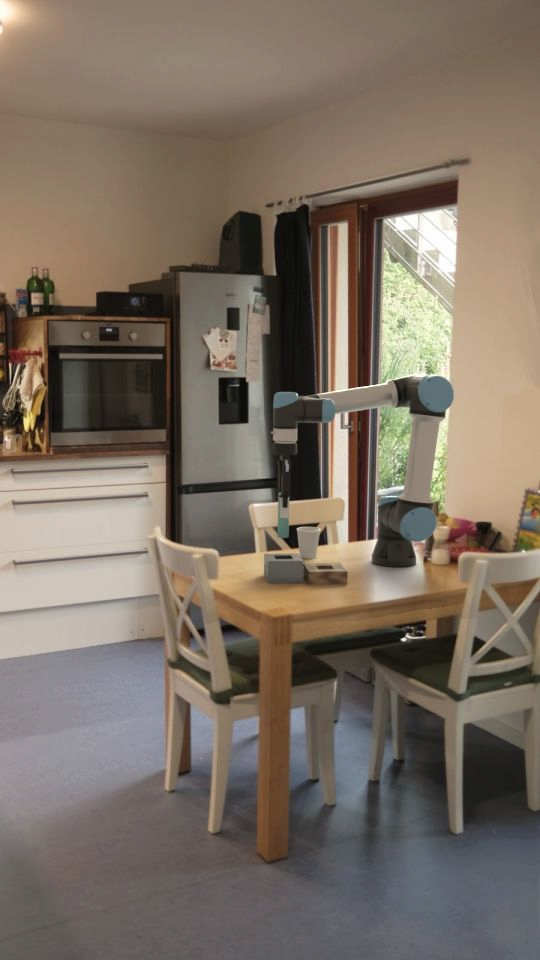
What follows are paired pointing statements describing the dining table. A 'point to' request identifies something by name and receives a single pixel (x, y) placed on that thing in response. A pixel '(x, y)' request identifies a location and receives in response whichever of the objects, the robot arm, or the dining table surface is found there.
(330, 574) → the mount
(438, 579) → the dining table surface
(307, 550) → the dixie cup
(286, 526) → the pin
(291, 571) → the socket
